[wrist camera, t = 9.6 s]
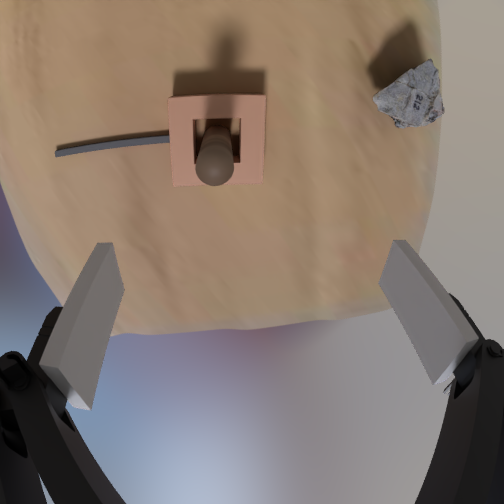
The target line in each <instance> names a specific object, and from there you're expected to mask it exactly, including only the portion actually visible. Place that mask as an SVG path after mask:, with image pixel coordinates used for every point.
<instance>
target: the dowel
mask: <svg viewBox="0 0 504 504" xmlns="http://www.w3.org/2000/svg"><path fill="white" fill-rule="evenodd" d="M195 170H196V174H197V176H198V178H199V179H200V180H201V181H202V182H203V183H205V184H207V185H210V186H219V185H222V184H224V183H226V182H227V181H228V180H229V179H230V178H231V177H232V175H233V172H234V162H233V154H232V145H231V137H230V132H229V130H228V129H227V128H226V127H224V126H222V125H213V126H210V127H209V128H208V129H207V130H206V132H205V134H204V138H203V141H202V144H201V148H200V151H199V154H198V158H197V161H196V166H195Z"/></svg>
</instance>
